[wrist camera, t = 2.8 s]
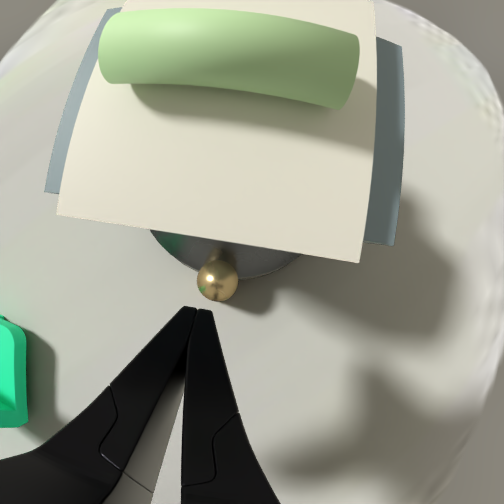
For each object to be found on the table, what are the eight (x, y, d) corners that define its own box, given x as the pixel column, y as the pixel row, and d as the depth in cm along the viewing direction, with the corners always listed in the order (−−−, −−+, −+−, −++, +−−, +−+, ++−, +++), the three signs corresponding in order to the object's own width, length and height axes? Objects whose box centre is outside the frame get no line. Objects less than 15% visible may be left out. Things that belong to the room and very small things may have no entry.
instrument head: (315, 245, 17) (480, 289, 4) (140, 217, 16) (-42, 204, 4) (335, 90, 16) (438, -49, 3) (175, 66, 16) (112, -89, 3)
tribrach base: (319, 315, 18) (340, 318, 14) (117, 282, 18) (92, 277, 14) (334, 133, 21) (352, 105, 17) (165, 106, 20) (155, 75, 16)
